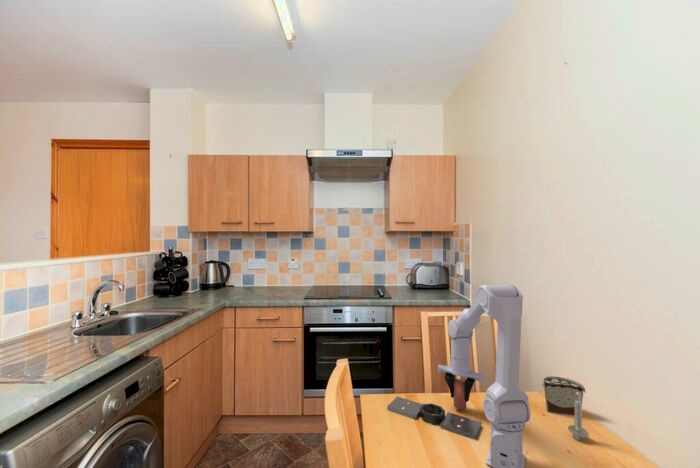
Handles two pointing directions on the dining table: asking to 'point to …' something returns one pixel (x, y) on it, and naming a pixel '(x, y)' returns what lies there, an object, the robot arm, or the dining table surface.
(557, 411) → the food container
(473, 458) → the dining table surface
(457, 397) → the hinge pin
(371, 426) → the dining table surface
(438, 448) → the dining table surface
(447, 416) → the hinge
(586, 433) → the screw
